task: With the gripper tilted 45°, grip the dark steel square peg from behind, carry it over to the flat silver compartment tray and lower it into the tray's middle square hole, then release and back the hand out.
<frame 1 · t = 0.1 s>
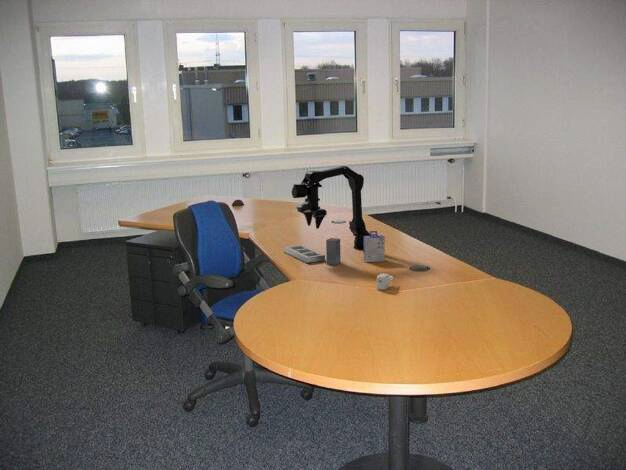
hand: (313, 227, 307), 15 cm above the table, tool pointing down, fingers open, 9 cm apart
ink cartridge box: (374, 261, 297), on the table
silver compartment tray: (304, 256, 308), on the table
steel square peg: (333, 263, 294), on the table
power adapter: (385, 287, 256), on the table
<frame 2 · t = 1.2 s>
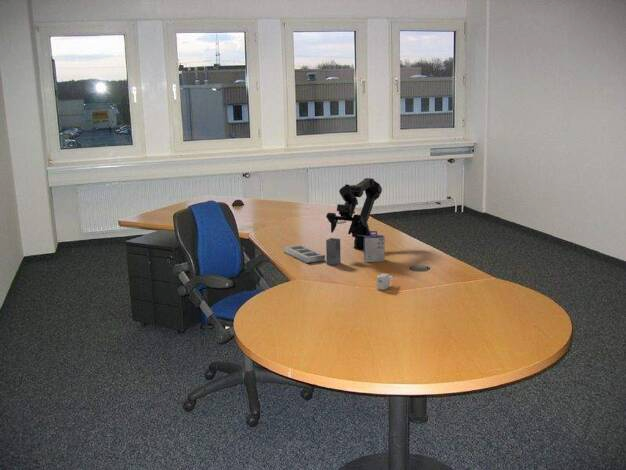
hand: (340, 233, 298), 13 cm above the table, tool tilted 45°, fingers open, 9 cm apart
nothing on the table moved.
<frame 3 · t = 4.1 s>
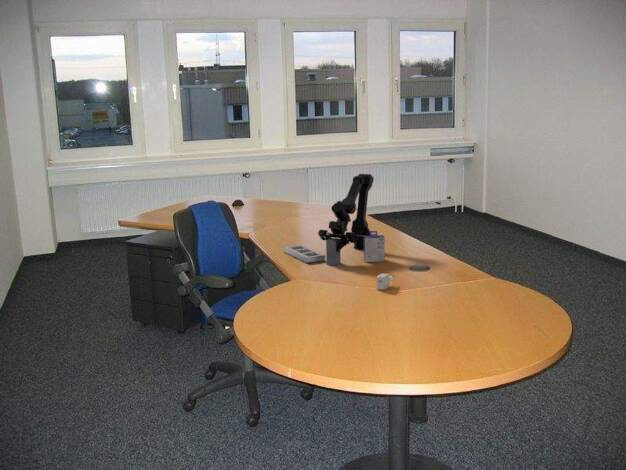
hand: (332, 251, 291), 7 cm above the table, tool tilted 45°, fingers closed on steel square peg, 5 cm apart
steel square peg: (333, 263, 294), on the table, touching gripper
everything else where it was.
when the fingers open (8 cm above the table, at t = 8.6 s): steel square peg drops 1 cm, resting on silver compartment tray.
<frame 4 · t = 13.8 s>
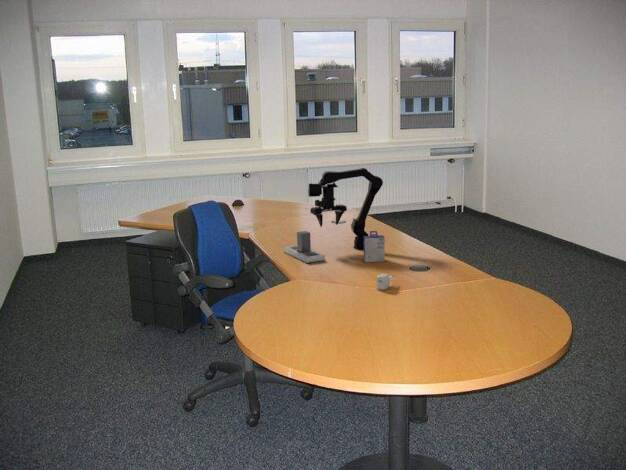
hand: (328, 225, 318), 13 cm above the table, tool pointing down, fingers open, 9 cm apart
steel square peg: (304, 255, 308), point 1 cm above the table, touching silver compartment tray
everything else where it was.
at the end: steel square peg 0.0 cm off-centre on the silver compartment tray, point 0.6 cm above the silver compartment tray's base; steel square peg tilted 0° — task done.
